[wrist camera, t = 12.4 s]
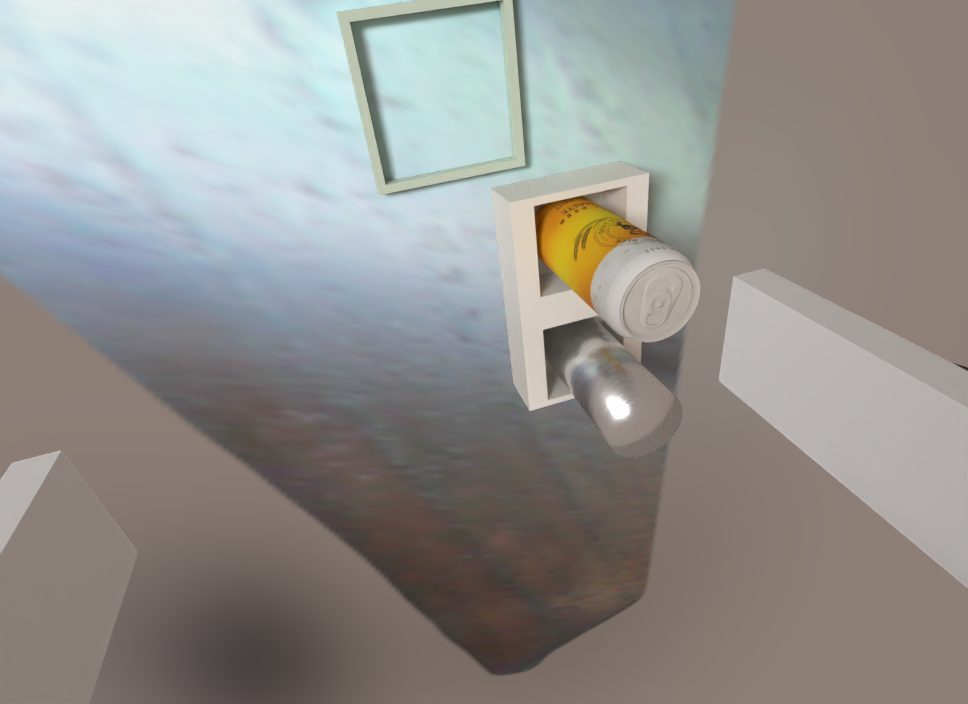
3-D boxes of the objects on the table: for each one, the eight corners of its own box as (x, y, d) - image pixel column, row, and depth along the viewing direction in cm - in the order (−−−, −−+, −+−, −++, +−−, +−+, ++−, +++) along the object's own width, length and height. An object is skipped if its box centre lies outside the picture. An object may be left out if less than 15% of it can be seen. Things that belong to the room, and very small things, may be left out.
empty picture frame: (336, 12, 33) (337, 11, 32) (506, -12, 35) (511, -13, 34) (377, 191, 39) (379, 195, 38) (521, 162, 41) (525, 165, 40)
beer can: (603, 194, 44) (721, 256, 31) (586, 264, 46) (688, 347, 34) (534, 188, 42) (631, 252, 29) (521, 262, 45) (604, 349, 32)
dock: (490, 187, 41) (509, 202, 38) (619, 161, 43) (649, 172, 40) (513, 383, 52) (529, 410, 48) (616, 355, 53) (640, 379, 50)
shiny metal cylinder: (535, 315, 48) (609, 405, 36) (595, 300, 49) (685, 382, 37) (540, 368, 51) (609, 466, 39) (595, 353, 52) (679, 444, 40)
